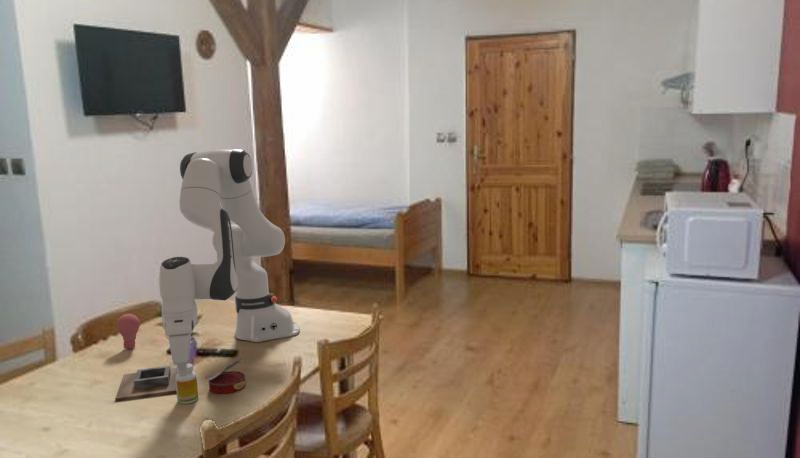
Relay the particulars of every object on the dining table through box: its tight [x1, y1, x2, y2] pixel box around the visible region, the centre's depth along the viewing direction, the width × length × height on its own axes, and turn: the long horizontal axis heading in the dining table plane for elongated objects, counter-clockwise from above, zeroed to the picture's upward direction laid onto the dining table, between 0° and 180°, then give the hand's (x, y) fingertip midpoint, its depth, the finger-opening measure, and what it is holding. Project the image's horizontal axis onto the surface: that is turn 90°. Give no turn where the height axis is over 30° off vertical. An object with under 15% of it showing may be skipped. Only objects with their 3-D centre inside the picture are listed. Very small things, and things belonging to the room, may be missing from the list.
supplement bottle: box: [176, 362, 199, 405], centre depth 175 cm, size 5×5×10 cm
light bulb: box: [116, 313, 141, 350], centre depth 217 cm, size 7×7×12 cm
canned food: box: [208, 360, 246, 396], centre depth 183 cm, size 11×10×10 cm
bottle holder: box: [115, 365, 178, 402], centre depth 188 cm, size 18×18×3 cm
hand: (184, 369), depth 174 cm, fingers open, 8 cm apart
